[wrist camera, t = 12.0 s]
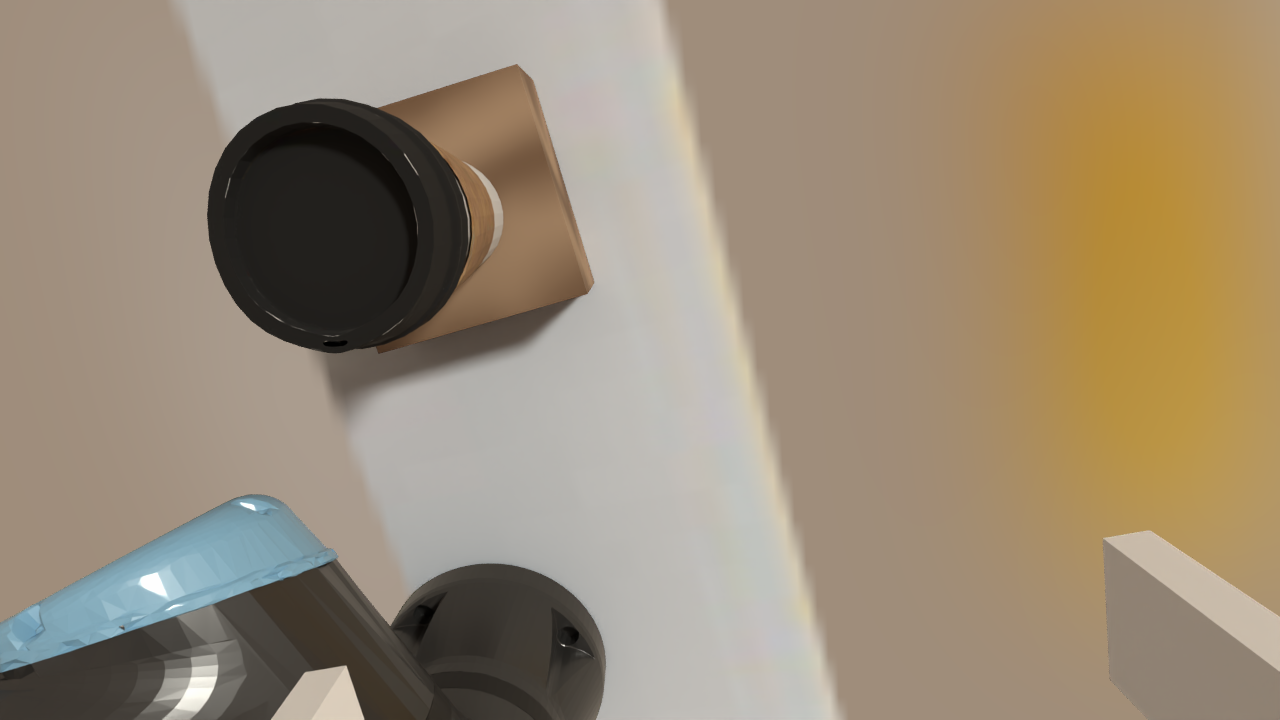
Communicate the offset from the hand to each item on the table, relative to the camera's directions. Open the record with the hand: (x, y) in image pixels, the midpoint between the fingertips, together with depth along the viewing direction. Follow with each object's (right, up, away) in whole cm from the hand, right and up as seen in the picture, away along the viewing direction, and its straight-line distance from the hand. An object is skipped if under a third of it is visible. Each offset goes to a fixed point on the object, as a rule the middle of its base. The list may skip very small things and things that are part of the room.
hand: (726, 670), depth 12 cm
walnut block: (-12, +14, +29) cm, 35 cm away
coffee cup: (-12, +13, +25) cm, 30 cm away
